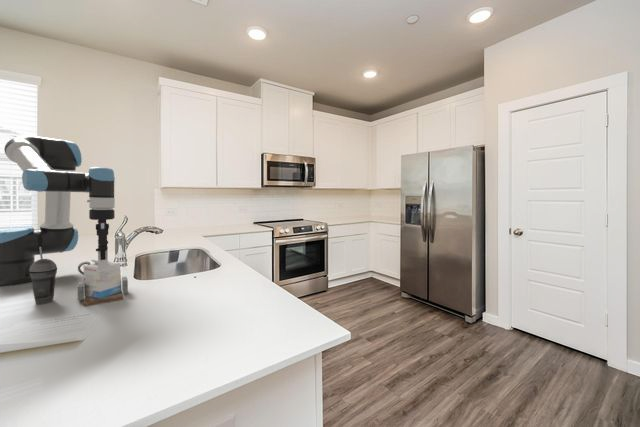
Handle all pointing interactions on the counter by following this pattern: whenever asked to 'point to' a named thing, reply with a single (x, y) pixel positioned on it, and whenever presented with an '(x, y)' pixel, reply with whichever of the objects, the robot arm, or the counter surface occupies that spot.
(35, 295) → the beverage cup
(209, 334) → the counter surface
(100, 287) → the ink box
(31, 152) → the robot arm
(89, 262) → the mug
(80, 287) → the roll holder
